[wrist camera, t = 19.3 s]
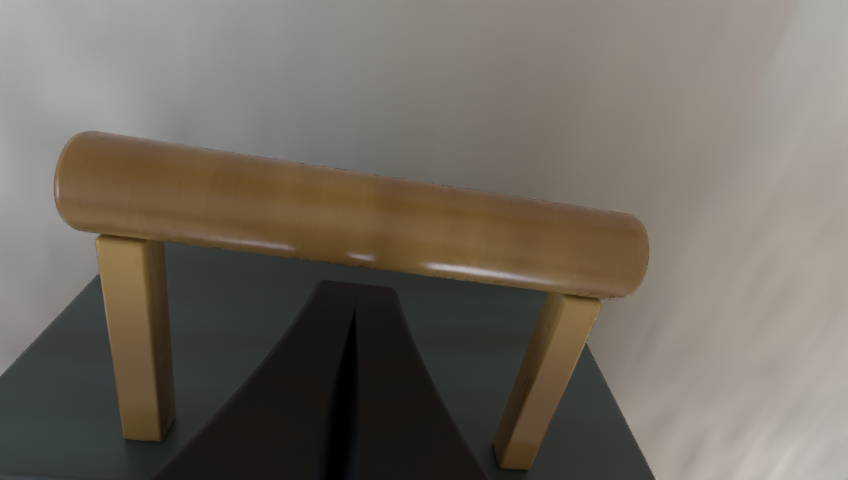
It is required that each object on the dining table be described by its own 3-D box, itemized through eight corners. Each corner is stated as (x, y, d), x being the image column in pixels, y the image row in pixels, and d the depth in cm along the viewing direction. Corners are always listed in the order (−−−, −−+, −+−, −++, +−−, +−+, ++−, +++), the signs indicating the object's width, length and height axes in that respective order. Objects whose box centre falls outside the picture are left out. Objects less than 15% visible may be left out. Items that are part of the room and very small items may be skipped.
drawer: (116, 32, 10) (-252, 124, 4) (622, 124, 12) (847, 282, 6) (166, 540, 19) (63, 802, 13) (457, 556, 21) (483, 796, 15)
